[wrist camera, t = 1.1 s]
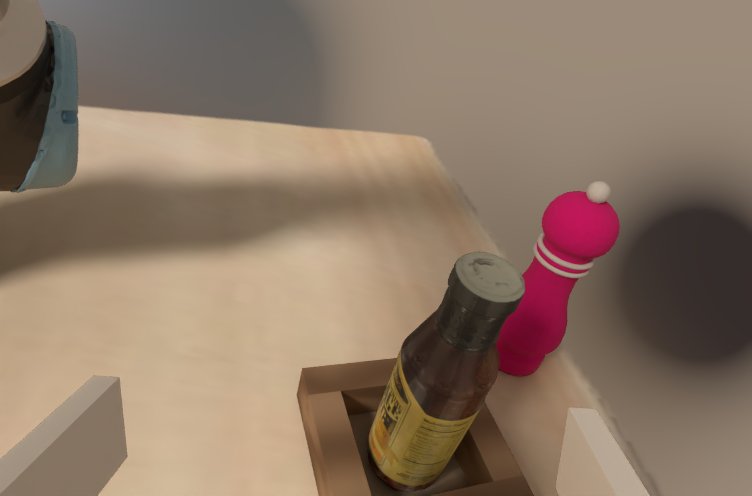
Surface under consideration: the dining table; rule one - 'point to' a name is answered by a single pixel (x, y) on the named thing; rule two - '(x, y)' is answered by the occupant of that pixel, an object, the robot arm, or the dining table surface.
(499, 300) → the sauce bottle
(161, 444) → the dining table surface
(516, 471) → the bottle holder
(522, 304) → the pepper mill
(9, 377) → the dining table surface
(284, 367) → the dining table surface
